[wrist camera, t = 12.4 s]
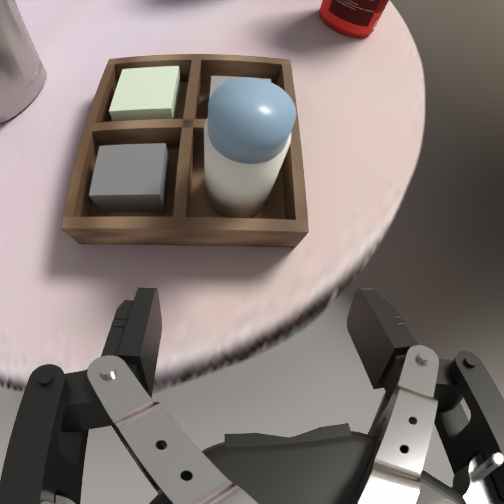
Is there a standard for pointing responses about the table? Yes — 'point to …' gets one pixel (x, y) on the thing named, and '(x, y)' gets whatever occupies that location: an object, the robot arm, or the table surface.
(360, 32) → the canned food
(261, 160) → the glue stick
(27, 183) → the table surface
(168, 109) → the note block
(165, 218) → the organizer
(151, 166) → the eraser
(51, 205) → the table surface
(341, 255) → the table surface
